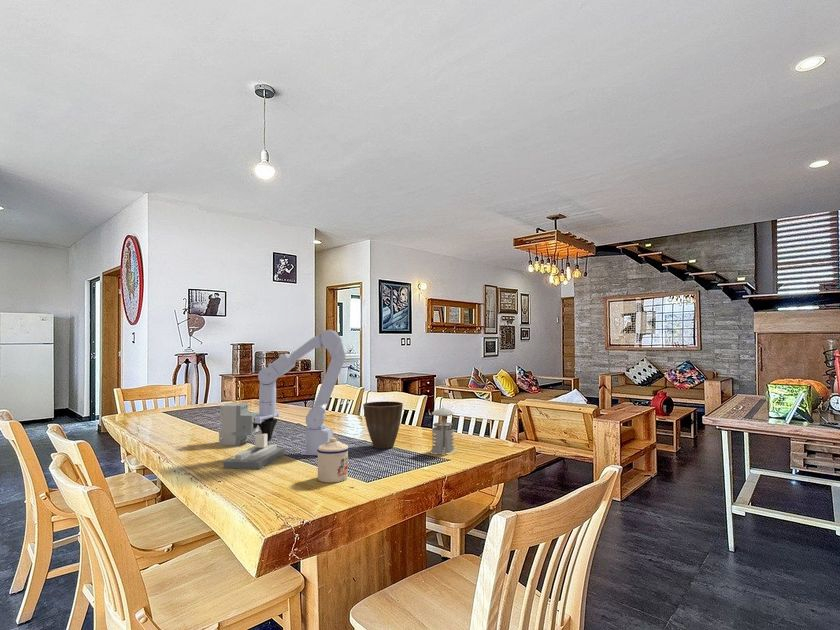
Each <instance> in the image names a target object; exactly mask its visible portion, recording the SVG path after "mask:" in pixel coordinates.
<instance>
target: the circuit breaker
mask: <svg viewBox="0 0 840 630" xmlns="http://www.w3.org/2000/svg"><path fill="white" fill-rule="evenodd" d="M219 407H220V408H219V418H221V431H220V432H218V441H219V443H218V446H241V445H242V443H243V444H244V443H246V442H248V438H249V437H248V436H253V435H254V434H256V433H258V432H259V431H260V430H259V429H260V427H259V425H258V424H257V423H255V417H257V416H256V414H259V411H258V412H257V411H255V412H253V411H252V412H249V403H248V402H228V403H224V404H222V405H220V406H219Z"/></svg>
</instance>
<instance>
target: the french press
mask: <svg viewBox="0 0 840 630" xmlns="http://www.w3.org/2000/svg"><path fill="white" fill-rule="evenodd" d="M445 385H446V382H445V381H441V382H440V386H445ZM431 415H432V416H435V417H436V416H437V417H449V416H450V417H451V416H453V415H455V412H454V411H453V410H451V409H448V408H444V407H442V408H437V409H436V410H434V411H432V412H431ZM440 420H441V422H434V423H433V426H434V427H432V429H431V432H432V433H431V435H432V436H431V438H432V439H431V440H432V441H431V442H432V445H431V446H432V447H431V449H430V450H431V452H432V453H436V454H435V455H437V454H446V453H452V452H455V451H457V450H456V449H455V428H454V426H453V425H454V424H453V423H452V422H448V420H447V418H446V419H445V421H443V418H441V419H440ZM432 453H431V454H432Z"/></svg>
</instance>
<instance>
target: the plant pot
mask: <svg viewBox="0 0 840 630" xmlns="http://www.w3.org/2000/svg"><path fill="white" fill-rule="evenodd" d="M403 406H404V403H403V402H400V401H387V400H386V401H371V402H366V403H363V406H362V407H363V413H364V419H365V423H366V428H367V432H368V435H369V437H370V440H371V443H372V444H371V445H373V448H374V447H376V448H375V449H378V448H387V449H391V448H390V447H392V448H393V447H394V446H395V442H396V440H397V437H398V434H399V429H400V426H401V425H400V423H401V420H402V414H403V413H402V412H403Z"/></svg>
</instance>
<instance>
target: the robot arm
mask: <svg viewBox="0 0 840 630" xmlns="http://www.w3.org/2000/svg"><path fill="white" fill-rule="evenodd" d="M323 347H325V348H326V350H327V351H328V353H329V355H330V357H331V360H330V363H329V364H328V367H327V370H326V373H325V376H324V378H323V380H322V383H321V385H320V389H319V391H318V393H317V396H316V397H315V398H316V399H315V401H314V403H313V405H312V408H310V410H308V413H307V414H306V416H305V424H306V426H305V428H304V429H305V431H304V432H305V433H304V435H305V436H304V439H305V440H304V441H305V442H304V445H305V447H304V451H303V452H301V453H300V455H301V456H318V451H317V448H318V447H319V446H320V445H323V444H325V443H326V442H328V441H330V438H333V437H334V431H333V429H332V428H330V427H327V425H326V424H325V423H324V421H325V419H326V410H327V406H328V405H329V401H330V399H331V396H332V393H333V391H334V389H335V386H336V383H337V380H338V378H339V376H340V373H341V370H342V367H343V365H344V363H345V360H346V352H345V349H344V344H343V340H342V338H341V336H340V335H339V333H338V332H337V331H335V330H333V329H326V330H324V331H323V332H322V333H319V334H318V335H315V336H314V337H312V338H310V339H309V340H308V341H306V342H305V343H303V344H302V345H301V346H299V347H298V348H297V349H295V351H293V352H291V353H284V354H280V355H278V358H277V359H275V360H274V361H272V363H271V362H270V363H269V362H268V364H267V366H266V367H263V368H261V370H260V371H259V372H258V374H257V375H258V376H257V378H258V381H259V389H258V390H259V392H258V398H259V399H258V412H259V414H256V416H257V417H255V423H257V424H258V425H259V429H260V432H261V434H267V442H270V441H272V436H273V433H274V430H275V426H276V424H277V423H278V419H277V417H280V411H279V410H277V380H278V378H280V377H282V376H284V375H285V374H286V373H288V372H289V371H290V370H292V369H294V368H295V366H296V362H297V361H298V360H299V359H301V358H302V357H304V356H305V355H308V353H310V352H312V351H313V350H314V349H320V348H323Z"/></svg>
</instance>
